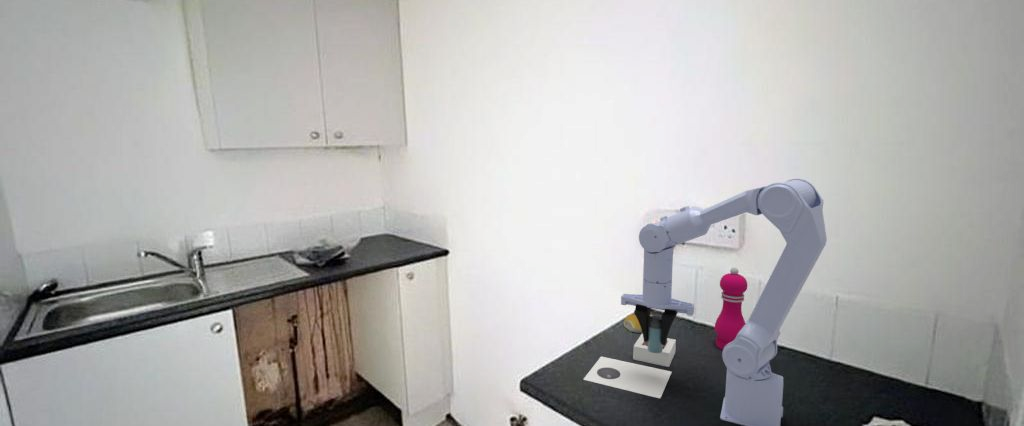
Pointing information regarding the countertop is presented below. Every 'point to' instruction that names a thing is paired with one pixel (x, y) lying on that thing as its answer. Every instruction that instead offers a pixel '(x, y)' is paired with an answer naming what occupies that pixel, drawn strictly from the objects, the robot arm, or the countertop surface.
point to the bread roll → (632, 324)
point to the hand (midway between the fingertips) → (655, 341)
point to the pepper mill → (730, 308)
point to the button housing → (655, 358)
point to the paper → (629, 376)
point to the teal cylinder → (654, 334)
